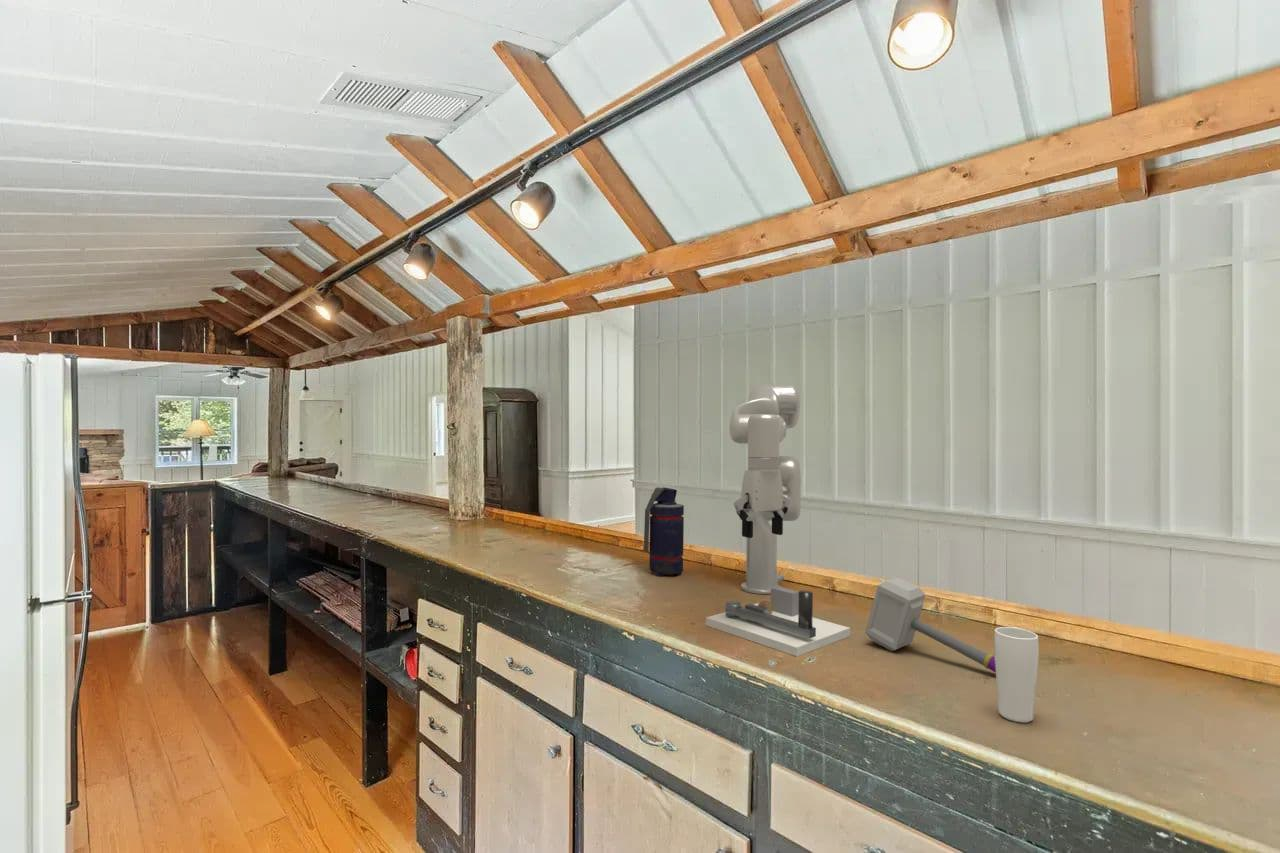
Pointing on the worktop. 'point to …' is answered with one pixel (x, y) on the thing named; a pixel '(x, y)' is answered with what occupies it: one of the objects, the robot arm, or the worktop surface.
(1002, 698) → the drinking glass
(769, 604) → the walnut
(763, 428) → the robot arm
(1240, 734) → the worktop surface
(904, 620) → the hammer
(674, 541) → the grenade
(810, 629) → the lever
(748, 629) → the base
